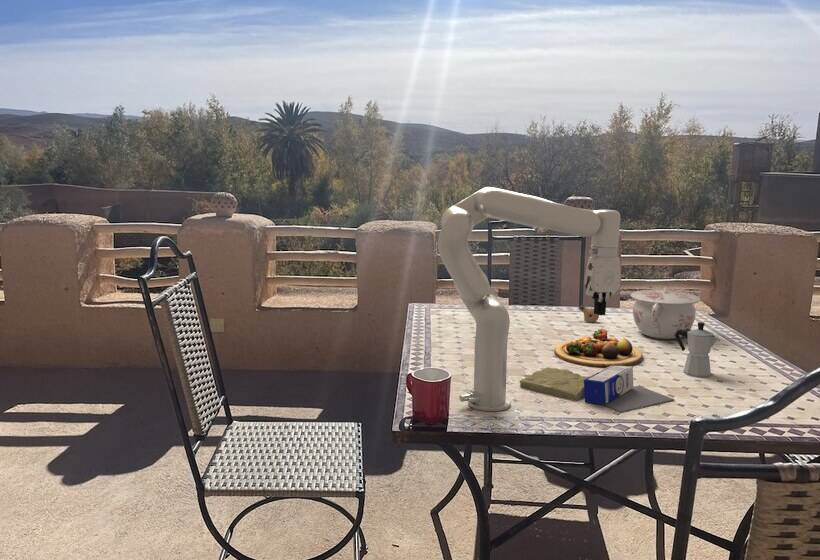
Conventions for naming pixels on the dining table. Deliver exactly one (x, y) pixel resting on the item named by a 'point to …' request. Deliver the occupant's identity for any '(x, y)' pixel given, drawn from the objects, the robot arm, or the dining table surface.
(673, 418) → the dining table surface
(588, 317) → the oil lamp
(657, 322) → the chamber pot
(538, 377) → the decorative tile
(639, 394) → the mat
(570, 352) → the wooden plate with food
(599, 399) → the milk carton
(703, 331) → the coffee maker
